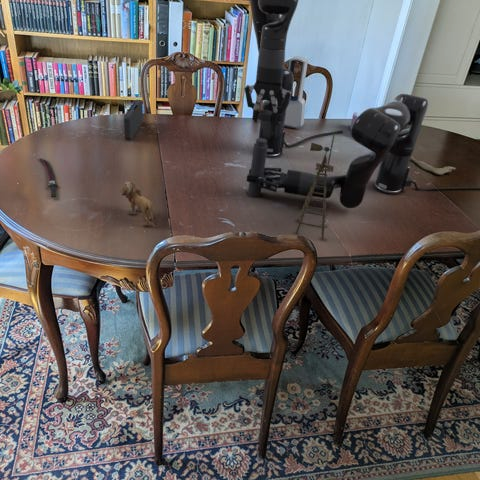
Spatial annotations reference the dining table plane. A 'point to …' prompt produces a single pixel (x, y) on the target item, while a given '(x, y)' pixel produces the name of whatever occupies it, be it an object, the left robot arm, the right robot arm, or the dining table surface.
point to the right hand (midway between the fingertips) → (248, 175)
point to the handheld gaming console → (133, 119)
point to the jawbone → (432, 169)
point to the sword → (52, 181)
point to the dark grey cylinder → (258, 165)
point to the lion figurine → (137, 201)
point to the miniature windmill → (320, 169)
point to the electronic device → (297, 104)
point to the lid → (264, 115)
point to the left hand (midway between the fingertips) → (264, 122)
